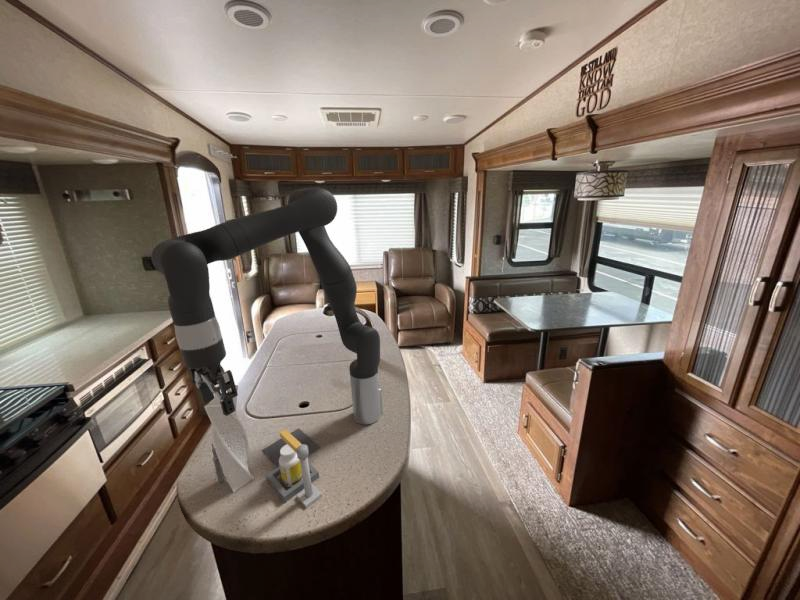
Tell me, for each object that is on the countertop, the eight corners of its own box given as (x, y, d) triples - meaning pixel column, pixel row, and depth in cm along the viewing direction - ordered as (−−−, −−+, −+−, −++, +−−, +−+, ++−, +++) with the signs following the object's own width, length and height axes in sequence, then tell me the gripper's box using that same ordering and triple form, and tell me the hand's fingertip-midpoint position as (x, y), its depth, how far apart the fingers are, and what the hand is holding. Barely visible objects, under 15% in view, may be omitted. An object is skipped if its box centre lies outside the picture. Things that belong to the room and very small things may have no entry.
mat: (298, 429, 101) (298, 428, 101) (319, 447, 93) (319, 446, 93) (262, 450, 93) (262, 449, 93) (282, 472, 85) (282, 471, 85)
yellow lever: (310, 454, 74) (309, 448, 73) (301, 461, 72) (300, 454, 71) (288, 433, 81) (287, 427, 80) (278, 439, 79) (277, 432, 78)
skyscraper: (248, 462, 89) (229, 377, 80) (262, 478, 84) (243, 388, 75) (217, 482, 83) (192, 392, 74) (229, 500, 78) (204, 406, 69)
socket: (299, 458, 90) (294, 421, 86) (330, 488, 80) (326, 449, 76) (266, 480, 83) (259, 441, 79) (296, 516, 73) (288, 474, 69)
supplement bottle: (305, 469, 86) (301, 441, 83) (300, 487, 81) (295, 457, 78) (286, 470, 86) (280, 442, 83) (279, 488, 80) (273, 458, 77)
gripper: (238, 340, 62) (253, 407, 67) (202, 326, 70) (218, 388, 75) (198, 356, 56) (219, 429, 61) (164, 339, 64) (184, 405, 69)
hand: (218, 406), depth 68 cm, fingers open, 8 cm apart
